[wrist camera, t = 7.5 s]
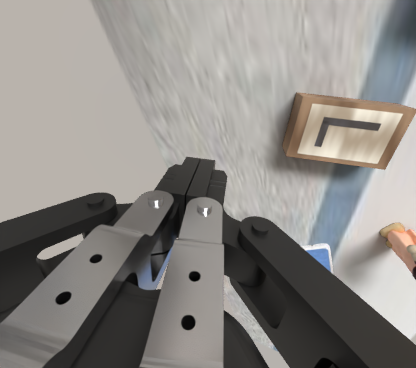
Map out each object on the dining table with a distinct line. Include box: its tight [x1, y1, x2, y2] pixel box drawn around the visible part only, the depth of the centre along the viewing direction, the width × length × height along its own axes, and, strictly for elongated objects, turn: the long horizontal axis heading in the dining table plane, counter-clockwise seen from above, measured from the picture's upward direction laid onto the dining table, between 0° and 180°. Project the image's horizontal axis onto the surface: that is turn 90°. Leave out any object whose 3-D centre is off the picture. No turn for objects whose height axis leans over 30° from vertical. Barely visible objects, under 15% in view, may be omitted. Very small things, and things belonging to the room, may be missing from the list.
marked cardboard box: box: [282, 93, 416, 170], centre depth 23 cm, size 6×4×10 cm
